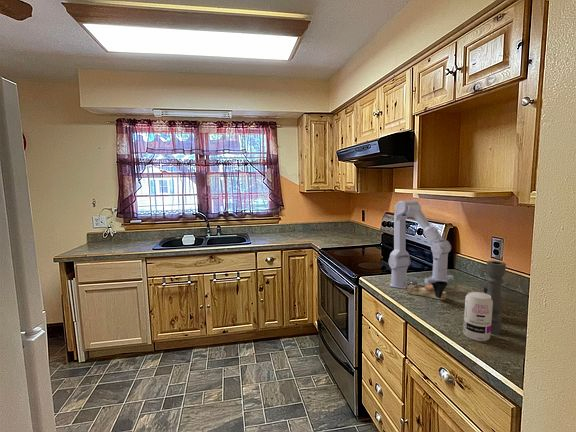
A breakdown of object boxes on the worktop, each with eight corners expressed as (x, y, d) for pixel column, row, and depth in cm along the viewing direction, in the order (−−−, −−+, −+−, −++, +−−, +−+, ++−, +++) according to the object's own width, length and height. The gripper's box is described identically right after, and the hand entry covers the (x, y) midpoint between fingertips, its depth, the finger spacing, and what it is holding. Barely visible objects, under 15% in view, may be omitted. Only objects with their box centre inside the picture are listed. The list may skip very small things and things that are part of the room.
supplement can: (478, 329, 118) (481, 290, 116) (495, 341, 110) (499, 298, 108) (457, 331, 117) (460, 291, 115) (474, 343, 108) (477, 300, 107)
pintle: (409, 291, 157) (410, 280, 156) (417, 292, 155) (417, 281, 155) (408, 293, 154) (409, 282, 153) (416, 294, 152) (416, 283, 152)
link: (406, 292, 154) (406, 286, 154) (409, 290, 158) (409, 284, 157) (443, 300, 144) (444, 294, 144) (446, 297, 148) (446, 291, 147)
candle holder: (478, 329, 118) (483, 262, 115) (485, 324, 122) (490, 259, 119) (497, 335, 114) (502, 266, 110) (504, 330, 117) (509, 263, 114)
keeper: (423, 297, 150) (424, 286, 149) (427, 293, 154) (427, 283, 154) (430, 298, 148) (431, 287, 147) (434, 294, 152) (434, 284, 152)
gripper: (433, 271, 137) (431, 302, 139) (460, 268, 142) (458, 298, 143) (421, 267, 144) (420, 296, 145) (447, 264, 148) (445, 292, 150)
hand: (438, 297), depth 145 cm, fingers closed
